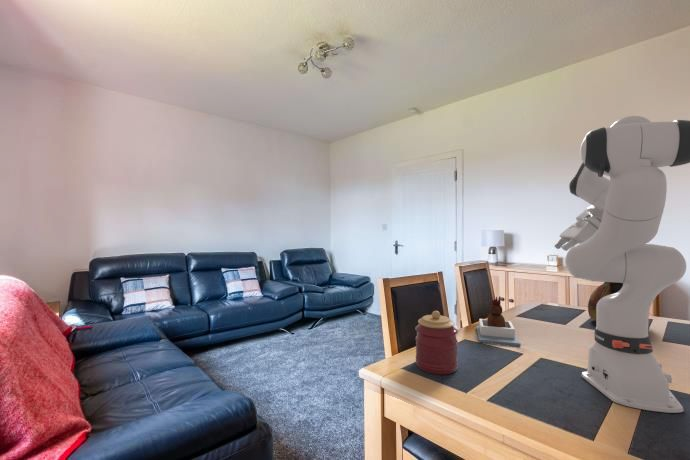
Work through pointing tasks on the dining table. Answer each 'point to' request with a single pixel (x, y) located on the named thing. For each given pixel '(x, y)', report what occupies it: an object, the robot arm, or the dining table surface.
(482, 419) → the dining table surface
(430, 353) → the canister
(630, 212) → the robot arm
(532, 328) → the dining table surface
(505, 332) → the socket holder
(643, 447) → the dining table surface
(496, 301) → the wooden figurine
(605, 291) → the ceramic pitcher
